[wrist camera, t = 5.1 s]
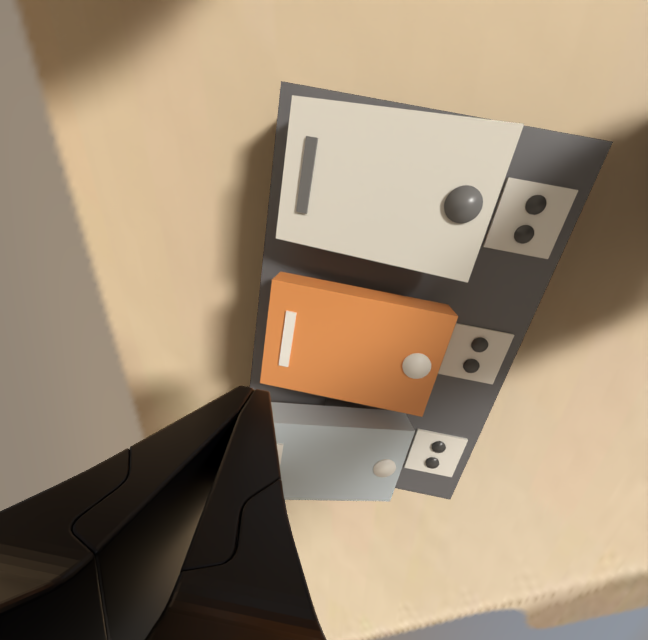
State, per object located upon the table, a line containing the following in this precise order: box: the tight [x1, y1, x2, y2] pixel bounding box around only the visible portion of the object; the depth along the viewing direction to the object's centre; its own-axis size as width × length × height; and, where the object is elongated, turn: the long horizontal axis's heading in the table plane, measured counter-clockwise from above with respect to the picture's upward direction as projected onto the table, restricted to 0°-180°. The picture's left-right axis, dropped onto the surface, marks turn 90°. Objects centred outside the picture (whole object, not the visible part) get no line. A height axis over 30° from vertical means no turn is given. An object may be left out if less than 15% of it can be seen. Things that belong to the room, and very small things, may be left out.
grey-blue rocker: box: [271, 402, 415, 501], centre depth 15 cm, size 7×5×2 cm, turn 80°
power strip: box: [250, 81, 613, 499], centre depth 16 cm, size 12×18×4 cm, turn 170°
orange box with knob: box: [260, 272, 458, 417], centre depth 13 cm, size 7×5×2 cm, turn 80°
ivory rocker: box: [276, 95, 524, 283], centre depth 11 cm, size 7×5×2 cm, turn 80°
